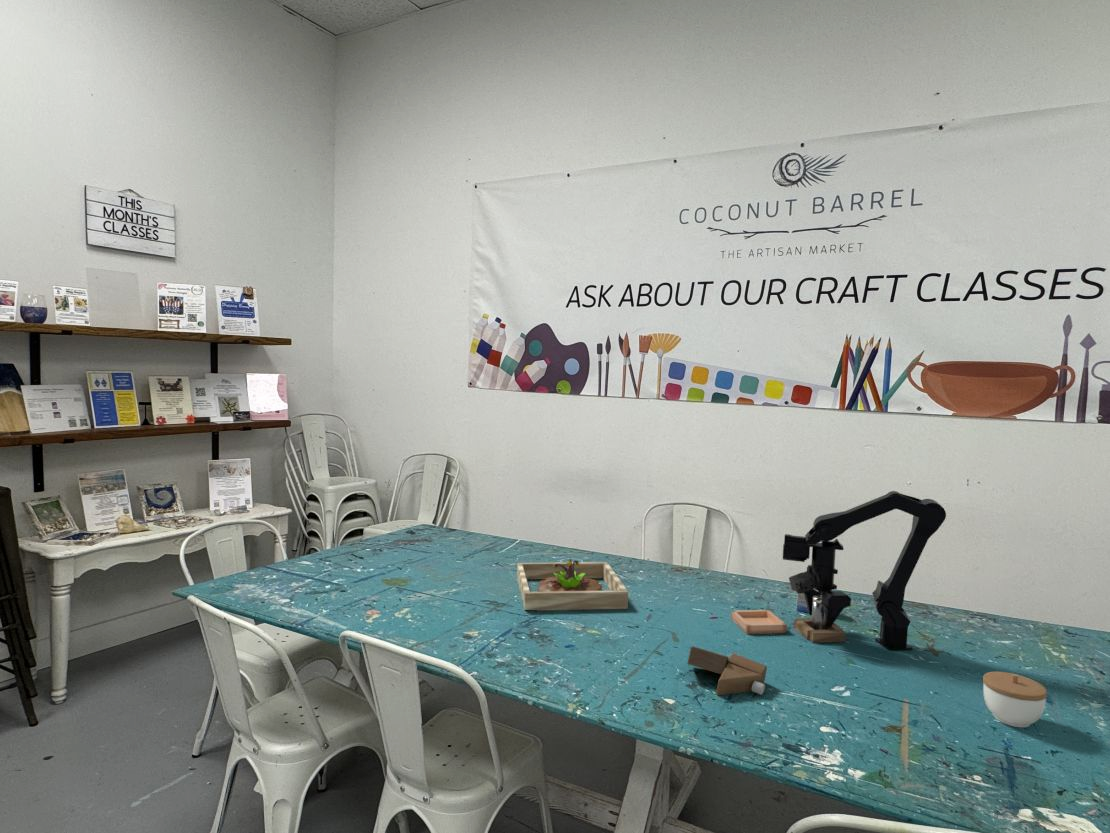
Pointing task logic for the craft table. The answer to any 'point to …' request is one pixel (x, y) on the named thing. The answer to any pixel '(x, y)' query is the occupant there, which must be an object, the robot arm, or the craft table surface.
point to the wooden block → (730, 671)
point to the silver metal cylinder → (818, 614)
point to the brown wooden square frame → (819, 632)
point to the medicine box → (802, 603)
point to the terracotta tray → (758, 622)
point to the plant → (568, 581)
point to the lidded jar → (1014, 698)
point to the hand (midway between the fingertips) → (819, 621)
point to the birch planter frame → (571, 599)
